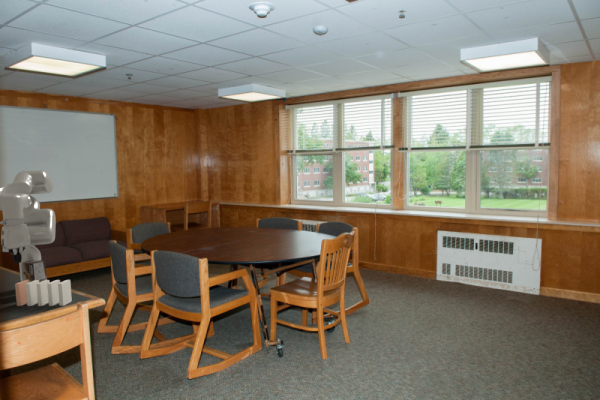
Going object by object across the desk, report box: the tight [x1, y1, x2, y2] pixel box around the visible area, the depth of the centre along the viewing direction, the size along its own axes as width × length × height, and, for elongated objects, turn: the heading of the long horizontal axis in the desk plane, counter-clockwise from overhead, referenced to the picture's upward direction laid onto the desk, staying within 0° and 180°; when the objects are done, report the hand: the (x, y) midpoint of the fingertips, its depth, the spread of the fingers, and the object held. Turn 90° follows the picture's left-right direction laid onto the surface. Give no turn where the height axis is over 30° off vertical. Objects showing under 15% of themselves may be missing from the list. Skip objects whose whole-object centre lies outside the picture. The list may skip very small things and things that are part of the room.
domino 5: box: [58, 279, 73, 307], centre depth 185 cm, size 2×6×10 cm, turn 176°
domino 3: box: [36, 279, 50, 307], centre depth 186 cm, size 2×6×10 cm, turn 176°
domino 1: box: [14, 280, 29, 307], centre depth 187 cm, size 2×6×10 cm, turn 176°
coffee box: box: [21, 259, 48, 283], centre depth 201 cm, size 9×6×16 cm
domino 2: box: [26, 280, 39, 307], centre depth 186 cm, size 2×6×10 cm, turn 176°
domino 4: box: [47, 279, 61, 307], centre depth 186 cm, size 2×6×10 cm, turn 176°
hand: (17, 262), depth 186 cm, fingers closed
